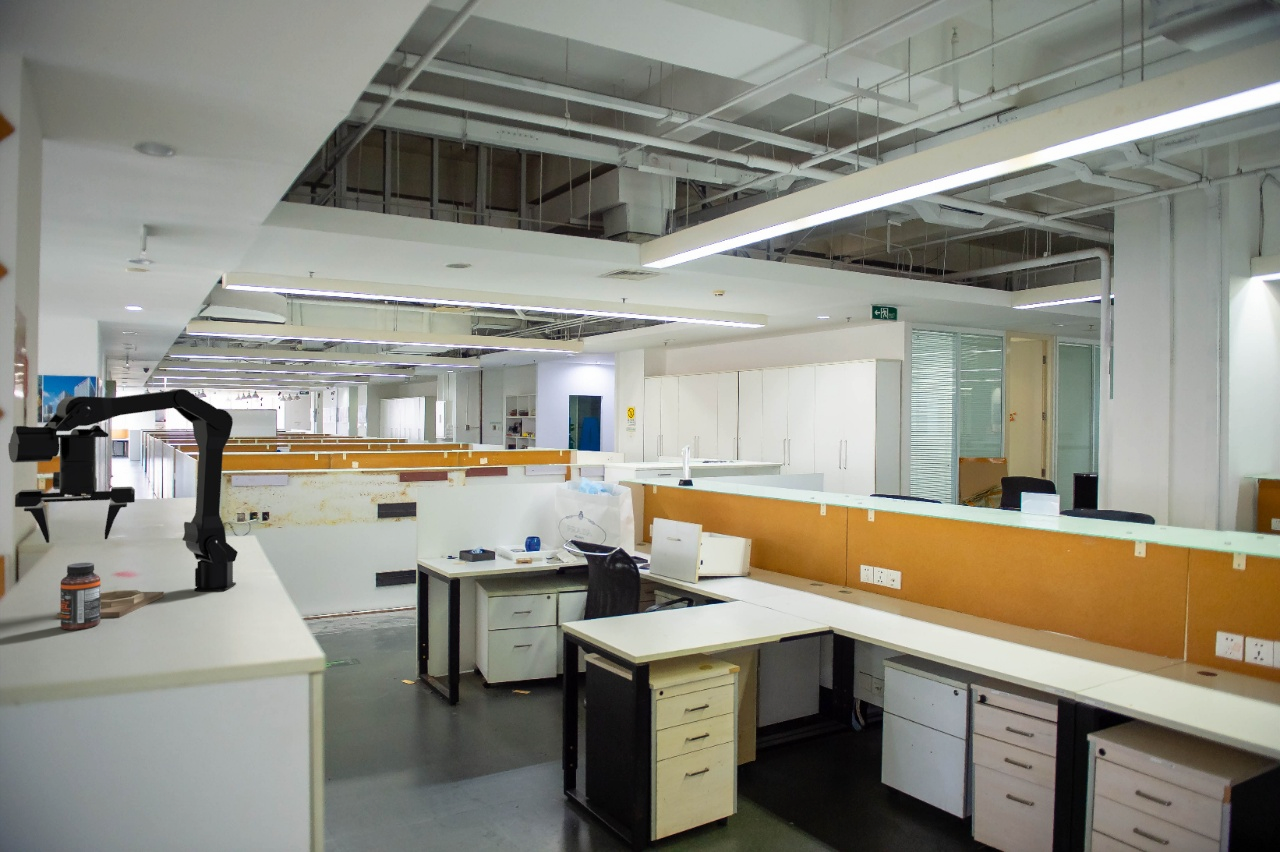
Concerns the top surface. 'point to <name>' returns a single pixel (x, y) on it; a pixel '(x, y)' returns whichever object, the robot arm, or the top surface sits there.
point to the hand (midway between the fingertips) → (77, 540)
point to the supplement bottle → (80, 597)
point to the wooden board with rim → (124, 602)
